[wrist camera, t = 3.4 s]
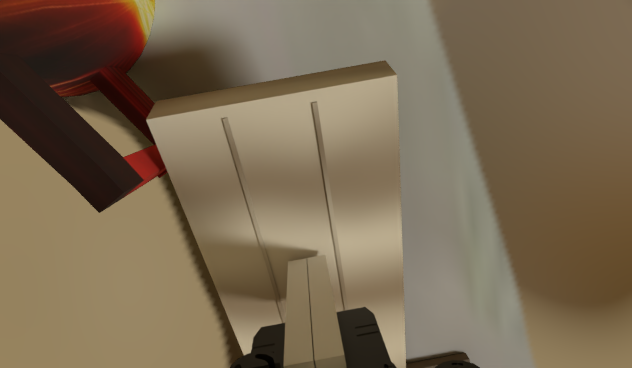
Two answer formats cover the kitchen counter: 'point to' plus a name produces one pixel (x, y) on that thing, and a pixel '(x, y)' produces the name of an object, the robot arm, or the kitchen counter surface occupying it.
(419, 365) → the floorboard
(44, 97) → the mug
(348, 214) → the plank
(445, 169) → the kitchen counter surface
